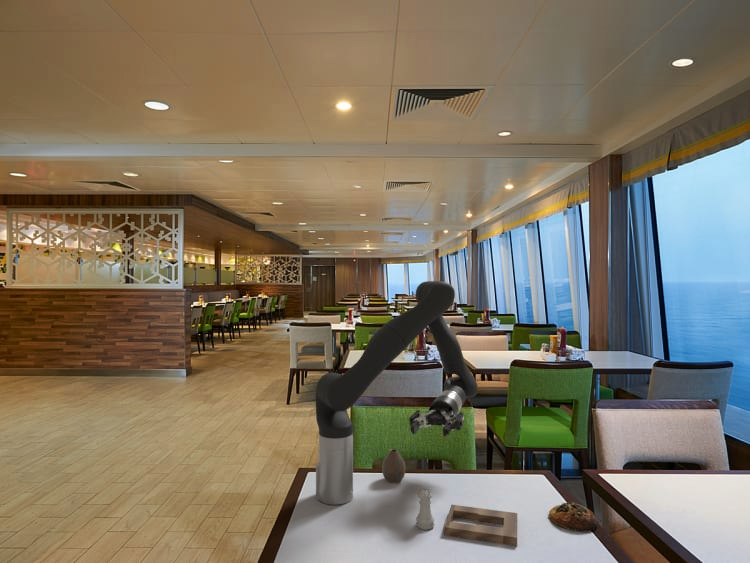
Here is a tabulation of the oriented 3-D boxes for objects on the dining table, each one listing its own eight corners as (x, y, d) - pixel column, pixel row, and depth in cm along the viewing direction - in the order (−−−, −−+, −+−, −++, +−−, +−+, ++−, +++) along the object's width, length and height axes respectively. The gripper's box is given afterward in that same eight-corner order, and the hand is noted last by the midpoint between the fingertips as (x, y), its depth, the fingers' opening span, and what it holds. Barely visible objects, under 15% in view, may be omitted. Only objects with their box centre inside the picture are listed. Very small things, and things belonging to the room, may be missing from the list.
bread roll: (589, 537, 107) (586, 514, 107) (542, 528, 114) (539, 506, 115) (605, 522, 115) (602, 500, 116) (560, 514, 122) (557, 493, 123)
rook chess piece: (422, 532, 109) (422, 497, 109) (412, 523, 113) (412, 490, 113) (438, 527, 111) (438, 493, 111) (427, 519, 115) (427, 486, 115)
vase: (403, 486, 135) (403, 455, 135) (380, 484, 137) (380, 453, 137) (406, 476, 142) (406, 447, 142) (384, 475, 143) (384, 446, 143)
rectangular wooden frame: (444, 535, 108) (444, 527, 108) (451, 511, 119) (451, 504, 119) (517, 546, 103) (517, 537, 103) (517, 520, 115) (517, 513, 115)
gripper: (421, 394, 139) (401, 416, 125) (468, 395, 133) (453, 419, 118) (424, 418, 140) (404, 443, 125) (471, 421, 134) (456, 447, 119)
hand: (428, 431), depth 122 cm, fingers open, 8 cm apart
